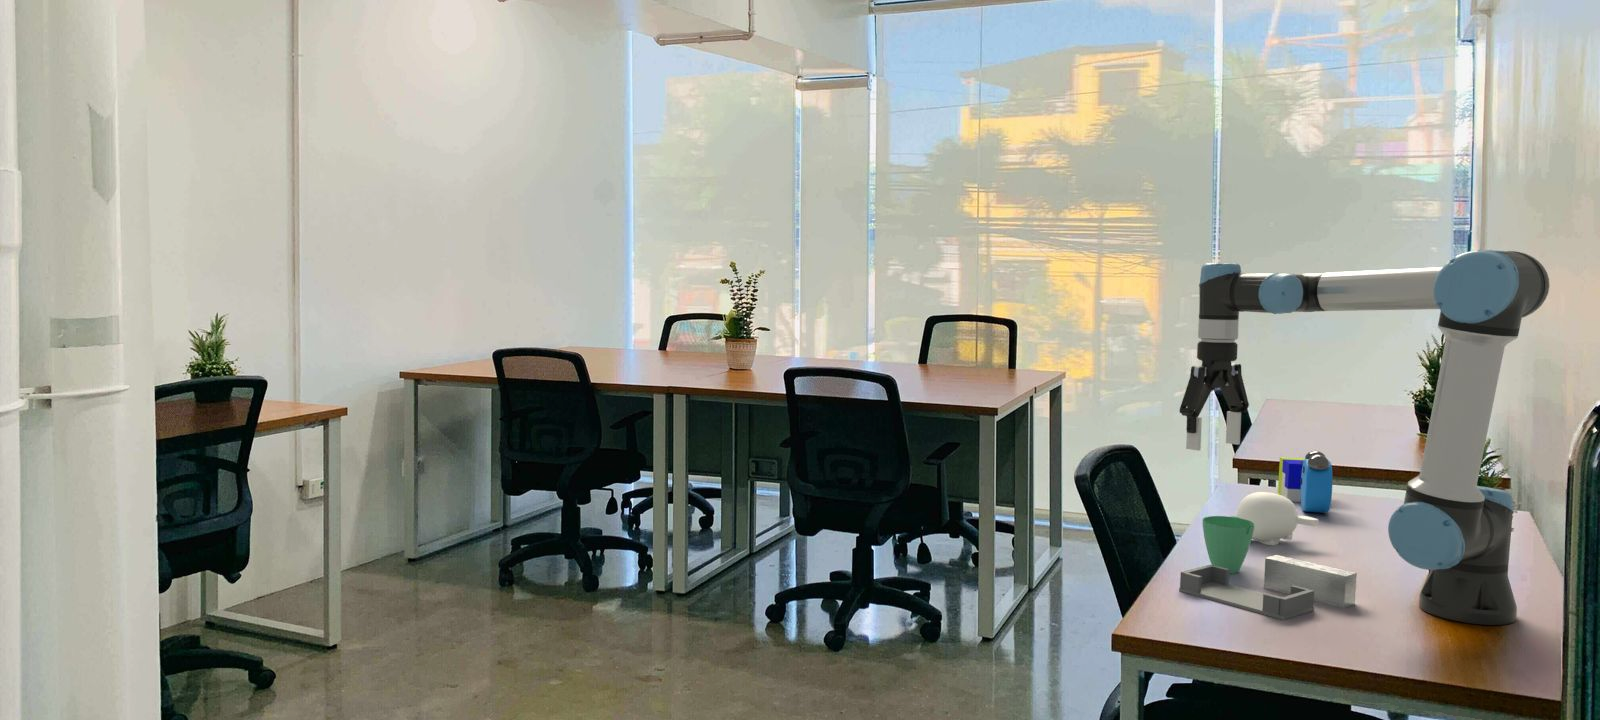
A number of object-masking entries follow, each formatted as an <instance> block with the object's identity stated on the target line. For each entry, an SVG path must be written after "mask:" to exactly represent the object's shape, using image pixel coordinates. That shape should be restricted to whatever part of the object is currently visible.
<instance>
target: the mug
mask: <svg viewBox="0 0 1600 720" xmlns="http://www.w3.org/2000/svg"><path fill="white" fill-rule="evenodd" d="M1202 529H1203V530H1202V531H1203V537H1204V542H1205V547H1206V551H1207V555H1208V559H1209V562H1210V565H1214V566H1219V567H1223V568H1227V569H1229V574H1230V573H1232V574H1238V573H1239V572H1240V570H1241V568H1242V566H1243V564H1244V561H1245V559H1246V556H1247V554H1248V552H1249V549H1250V545H1251V541H1252V540H1253V539H1252V535H1253V531H1254V523H1253V522H1252V521H1249V520H1246V519H1242V518H1239V517H1237V515H1231V516H1226V515H1225V516H1224V515H1223V516H1222V515H1211V516H1205V517H1203V518H1202ZM1237 572H1238V573H1237Z"/></svg>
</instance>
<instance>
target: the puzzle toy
mask: <svg viewBox="0 0 1600 720" xmlns="http://www.w3.org/2000/svg"><path fill="white" fill-rule="evenodd" d="M1304 460H1305V457H1286V456H1280V457H1279V463H1278V465H1279V466H1278V481H1277V482H1278V485H1277V487H1278V488H1277V494H1278V493H1279V494H1278V495H1281V496H1284V497H1286V498H1288V499H1289V500H1290V501H1292V502H1296V503H1297V502H1298V503H1301V474H1302V466H1303V462H1304Z"/></svg>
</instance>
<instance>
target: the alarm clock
mask: <svg viewBox="0 0 1600 720" xmlns="http://www.w3.org/2000/svg"><path fill="white" fill-rule="evenodd" d="M1304 458H1305V460H1304V462H1303V466H1302V474H1301V502H1300V506H1301V510H1302V511H1303V512H1306V513H1318V514H1319V513H1320V514H1321V513H1322V514H1323V515H1326V514H1328V513H1329V512H1330V509H1331V505H1332V498H1333V497H1332V496H1333V466H1332V462H1331V461H1330V460H1329V459H1328V458H1327V457H1326V455H1325V454H1324V453H1323V452H1321V451H1319V450H1312V451H1309V452H1308V453H1306V454H1305V456H1304ZM1326 516H1327V515H1326Z"/></svg>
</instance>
